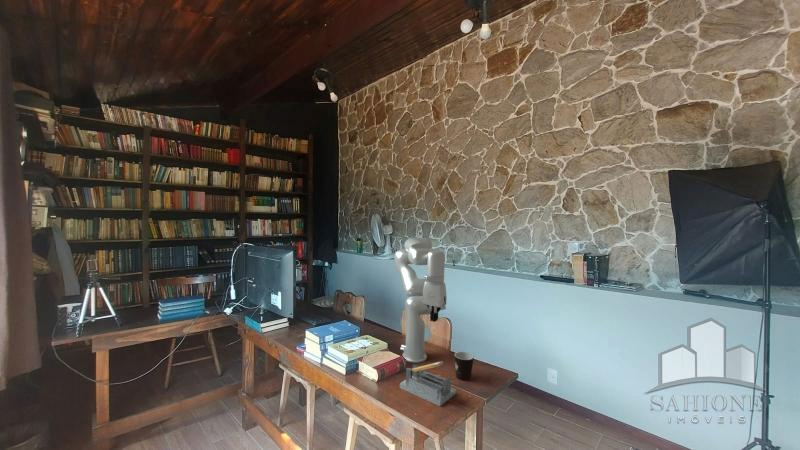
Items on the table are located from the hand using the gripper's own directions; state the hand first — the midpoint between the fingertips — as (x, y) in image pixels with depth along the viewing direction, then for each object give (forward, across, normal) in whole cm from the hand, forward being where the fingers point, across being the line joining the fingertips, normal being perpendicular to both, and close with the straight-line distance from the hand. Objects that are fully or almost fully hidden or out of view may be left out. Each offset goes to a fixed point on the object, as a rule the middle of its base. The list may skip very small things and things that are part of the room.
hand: (434, 320), depth 145 cm
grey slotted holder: (+27, +3, -8) cm, 28 cm away
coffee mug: (+27, +8, +14) cm, 32 cm away
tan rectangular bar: (+18, +2, -8) cm, 20 cm away
